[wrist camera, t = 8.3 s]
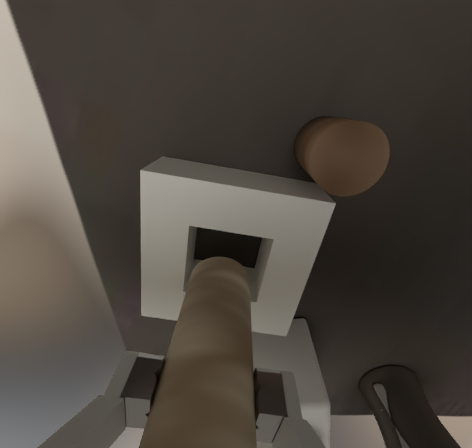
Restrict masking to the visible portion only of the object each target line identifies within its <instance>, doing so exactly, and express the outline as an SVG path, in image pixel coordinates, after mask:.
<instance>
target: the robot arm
mask: <svg viewBox="0 0 472 448" xmlns="http://www.w3.org/2000/svg"><path fill="white" fill-rule="evenodd" d="M164 363H165V356H161V355H154V354H147V353H140V352H133V351H126V352H125V353H124V355H123V356H122V358H121V361H120V363H119V365H118V367H117V369H116V371H115V373H114V375H113V377H112V379H111V381H110V383H109V386H108V388H107V390H106V392H105V394H104V395H99V396H98V397H97V398H96V399H94V400H93V401H92V402H91V403H90V404H88V405H87V406H86V407H85V408H84V409H83V410H81V411H80V412H79V413H78V414H77V415H76V416H74V417H73V418H72V419H71V420H70V421H68V422H67V423H66V424H65V425H64V426H63V427H61V428H60V429H59V430H58V431H57V432H56V433H54V434H53V435H52V436H51V437H50V438H48V439H47V440H46V441H45V442H44V443H43V444H42V445H40V446H39V447H38V448H109V447H110V446H111V445H112V444H113V443H114V441H115V440H116V439H117V438H118V437H119V436H120V435H121V433H122V432H123V431H124V430H125V427H133V428H145V426H146V422H147V419H148V416H149V412H150V410H151V406H152V403H153V400H154V396H155V393H156V389H157V386H158V383H159V379H160V377H161V373H162V370H163V367H164ZM254 395H255V419H256V441H258V442H264V443H271V444H272V447H273V448H326V447H325V446H324V444H323V443H322V441H321V440H320V438H319V437H318V436H317V434H316V433H315V431H314V430H313V428H312V427H311V426H310V424H309V423H308V421H307V420H304V419H303V418H302V413H301V408H300V402H299V397H298V392H297V387H296V382H295V377H294V374H293V373H292V372H288V371H279V370H274V369H264V368H255V369H254Z"/></svg>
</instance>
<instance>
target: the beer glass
mask: <svg viewBox="0 0 472 448" xmlns="http://www.w3.org/2000/svg"><path fill="white" fill-rule="evenodd" d="M359 390H360V392H361V394H362V396H363V397H364V399H365V401H366V402H367V404H368V406H369V407H370V409H371V411H372V413H373V415H374V416H375V419H376V421H377V423H378V426H379V428H380V431H381V434H382V437H383V440H384V444H385V447H386V448H461V447H460V446H459V445H458V443H457V442H456V441H455V440H454V439H453V437H452V436H451V435H450V433H449V432H448V431H447V430H446V428H445V427H444V426H443V424H442V423H441V422H440V420H439V419H438V417H437V416H436V414H435V413H434V411H433V409H432V408H431V406H430V404H429V402H428V400H427V398H426V396H425V394H424V391H423V389H422V387H421V384H420V382H419V380H418V378H417V376H416V374H415V373H414V372H413V371H411V370H410V369H408V368H405V367H402V366H384V367H380V368H377V369H374V370H372V371H370V372H368V373H367V374H366V375H364V376H363V378H362V379H361V381H360V383H359Z"/></svg>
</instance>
